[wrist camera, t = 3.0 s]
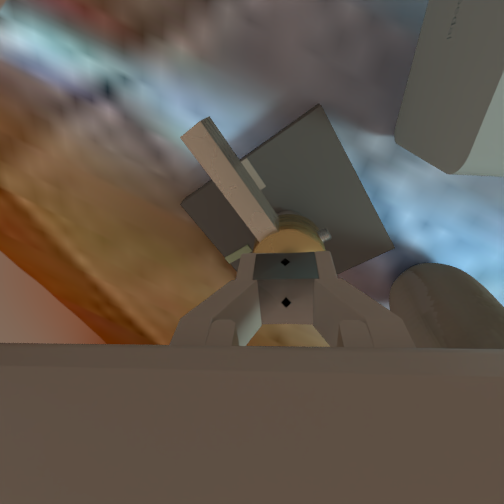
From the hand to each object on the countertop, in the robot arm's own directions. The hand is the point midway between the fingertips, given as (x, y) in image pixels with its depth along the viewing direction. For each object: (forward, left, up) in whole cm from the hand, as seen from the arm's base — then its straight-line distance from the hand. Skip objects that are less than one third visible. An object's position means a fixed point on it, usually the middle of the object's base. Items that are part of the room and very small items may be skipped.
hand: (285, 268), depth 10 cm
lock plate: (-8, +4, -24) cm, 25 cm away
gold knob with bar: (-3, +4, -17) cm, 18 cm away
